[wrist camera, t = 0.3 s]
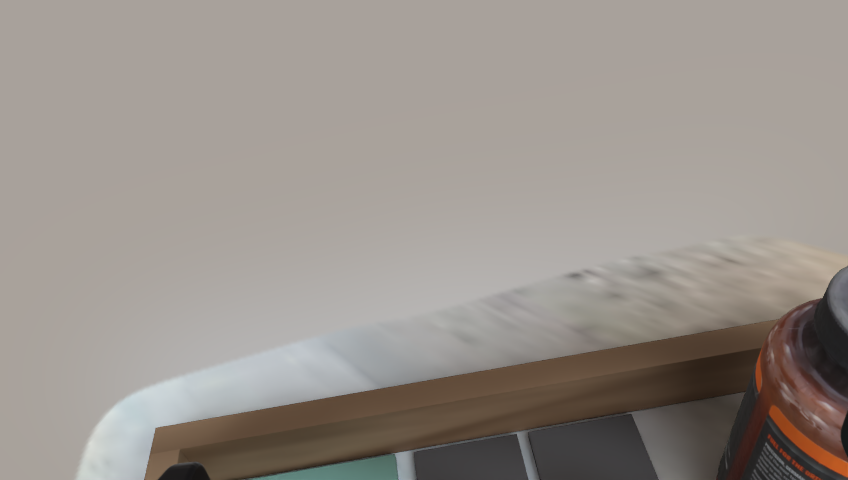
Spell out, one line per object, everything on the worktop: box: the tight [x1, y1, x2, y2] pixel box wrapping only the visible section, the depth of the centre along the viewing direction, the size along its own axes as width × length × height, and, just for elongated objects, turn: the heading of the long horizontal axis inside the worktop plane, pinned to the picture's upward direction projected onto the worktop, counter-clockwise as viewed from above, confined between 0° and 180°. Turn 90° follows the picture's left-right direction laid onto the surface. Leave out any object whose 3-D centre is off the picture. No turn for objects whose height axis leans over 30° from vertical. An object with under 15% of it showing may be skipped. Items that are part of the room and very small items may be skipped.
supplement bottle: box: [716, 266, 848, 480], centre depth 20 cm, size 6×6×11 cm
